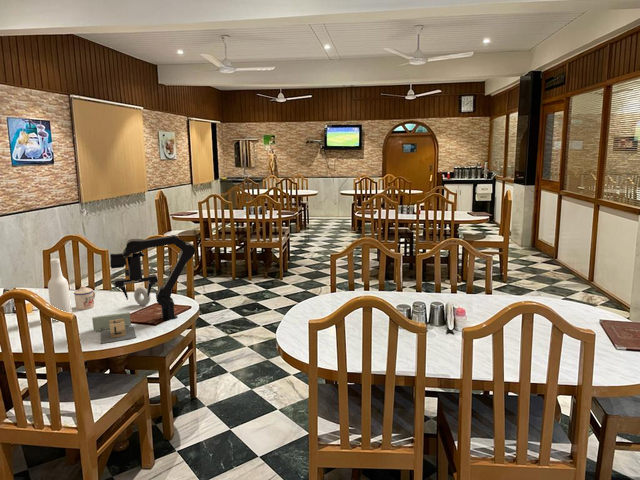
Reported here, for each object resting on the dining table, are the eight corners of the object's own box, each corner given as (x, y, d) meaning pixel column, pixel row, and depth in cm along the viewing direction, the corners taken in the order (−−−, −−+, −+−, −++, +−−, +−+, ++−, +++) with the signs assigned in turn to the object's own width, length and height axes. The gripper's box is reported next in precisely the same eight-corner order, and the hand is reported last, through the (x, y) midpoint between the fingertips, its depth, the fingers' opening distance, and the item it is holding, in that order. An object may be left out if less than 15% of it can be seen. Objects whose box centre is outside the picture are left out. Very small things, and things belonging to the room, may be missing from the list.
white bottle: (53, 322, 231) (45, 262, 225) (51, 317, 238) (43, 258, 232) (73, 318, 236) (66, 259, 230) (70, 313, 243) (63, 256, 237)
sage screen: (131, 326, 223) (130, 314, 222) (93, 332, 217) (92, 320, 216) (130, 322, 229) (129, 310, 228) (93, 328, 222) (92, 315, 221)
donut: (152, 305, 253) (151, 287, 251) (148, 307, 250) (146, 289, 248) (138, 303, 257) (136, 285, 255) (133, 305, 254) (131, 287, 252)
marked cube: (125, 335, 211) (124, 322, 210) (111, 338, 209) (109, 324, 208) (125, 330, 217) (123, 318, 215) (110, 333, 214) (109, 320, 213)
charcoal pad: (136, 338, 209) (136, 337, 209) (101, 344, 204) (101, 342, 204) (133, 327, 222) (133, 326, 222) (100, 332, 216) (100, 331, 216)
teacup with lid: (85, 310, 247) (83, 289, 244) (71, 309, 249) (69, 288, 247) (102, 303, 258) (100, 282, 256) (88, 302, 260) (86, 281, 258)
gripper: (153, 260, 235) (156, 290, 238) (112, 264, 227) (116, 296, 230) (156, 265, 225) (159, 296, 228) (113, 270, 217) (116, 302, 220)
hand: (137, 298), depth 227 cm, fingers open, 9 cm apart
